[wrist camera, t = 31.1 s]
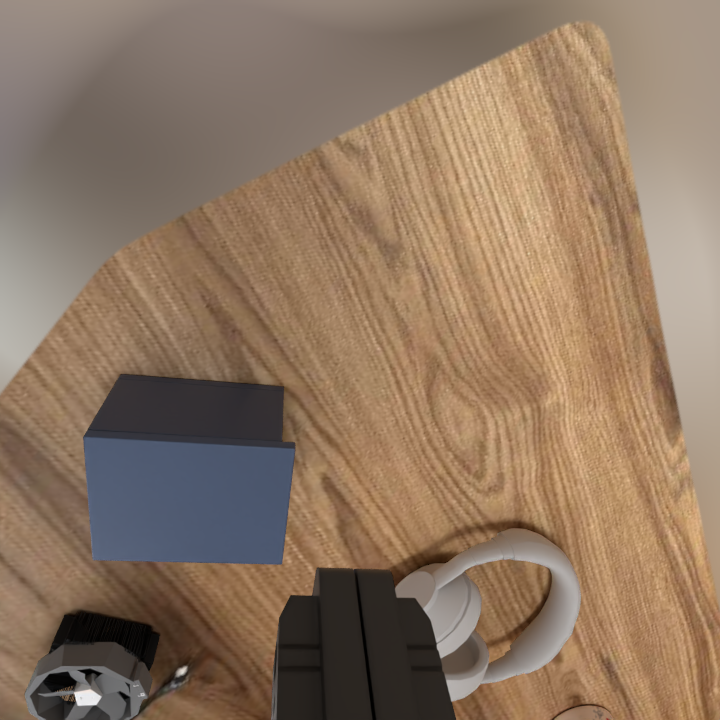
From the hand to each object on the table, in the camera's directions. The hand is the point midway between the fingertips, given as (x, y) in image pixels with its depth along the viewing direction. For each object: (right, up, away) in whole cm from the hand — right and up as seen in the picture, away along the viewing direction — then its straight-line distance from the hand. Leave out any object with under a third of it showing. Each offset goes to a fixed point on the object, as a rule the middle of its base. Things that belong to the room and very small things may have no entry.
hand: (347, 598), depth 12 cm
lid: (-12, -5, +28) cm, 31 cm away
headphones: (+12, -19, +47) cm, 52 cm away
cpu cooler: (-25, -24, +45) cm, 57 cm away
